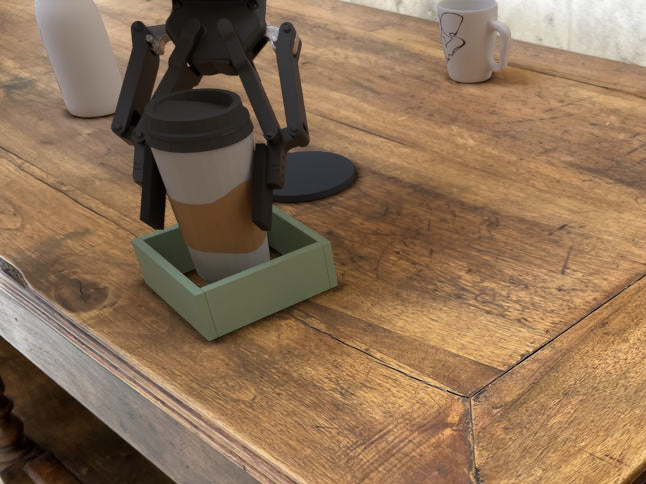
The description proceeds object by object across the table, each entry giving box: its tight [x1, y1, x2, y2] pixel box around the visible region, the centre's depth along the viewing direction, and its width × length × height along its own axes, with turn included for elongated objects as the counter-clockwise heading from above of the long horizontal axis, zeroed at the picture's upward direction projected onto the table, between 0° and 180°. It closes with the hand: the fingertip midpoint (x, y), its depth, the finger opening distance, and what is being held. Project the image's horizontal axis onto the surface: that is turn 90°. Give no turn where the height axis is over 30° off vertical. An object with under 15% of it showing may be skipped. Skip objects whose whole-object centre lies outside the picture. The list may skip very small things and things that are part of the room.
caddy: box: [130, 204, 339, 342], centre depth 71 cm, size 13×13×4 cm
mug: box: [436, 0, 512, 84], centre depth 113 cm, size 11×8×10 cm
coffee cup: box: [143, 87, 271, 285], centre depth 67 cm, size 8×8×15 cm
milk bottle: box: [34, 0, 123, 118], centre depth 102 cm, size 8×8×20 cm
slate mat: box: [273, 150, 356, 203], centre depth 90 cm, size 12×12×1 cm
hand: (206, 225), depth 65 cm, fingers closed on coffee cup, 8 cm apart
